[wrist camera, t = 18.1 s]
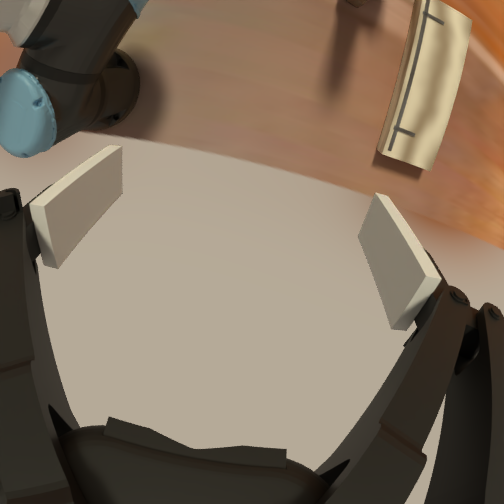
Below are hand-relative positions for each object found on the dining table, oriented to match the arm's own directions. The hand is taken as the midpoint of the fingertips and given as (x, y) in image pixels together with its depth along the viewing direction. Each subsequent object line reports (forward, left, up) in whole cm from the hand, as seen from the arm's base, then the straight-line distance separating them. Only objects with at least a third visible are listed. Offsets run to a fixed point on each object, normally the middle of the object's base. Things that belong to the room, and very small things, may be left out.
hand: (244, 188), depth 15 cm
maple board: (+25, +12, -35) cm, 44 cm away
